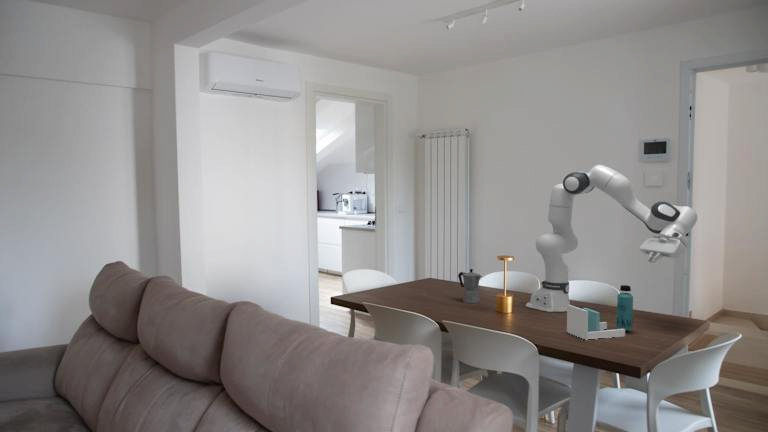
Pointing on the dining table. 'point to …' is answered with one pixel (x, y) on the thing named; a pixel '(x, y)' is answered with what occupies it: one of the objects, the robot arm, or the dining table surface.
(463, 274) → the coffeepot
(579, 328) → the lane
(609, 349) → the dining table surface
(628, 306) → the beverage bottle
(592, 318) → the pusher
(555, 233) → the robot arm
